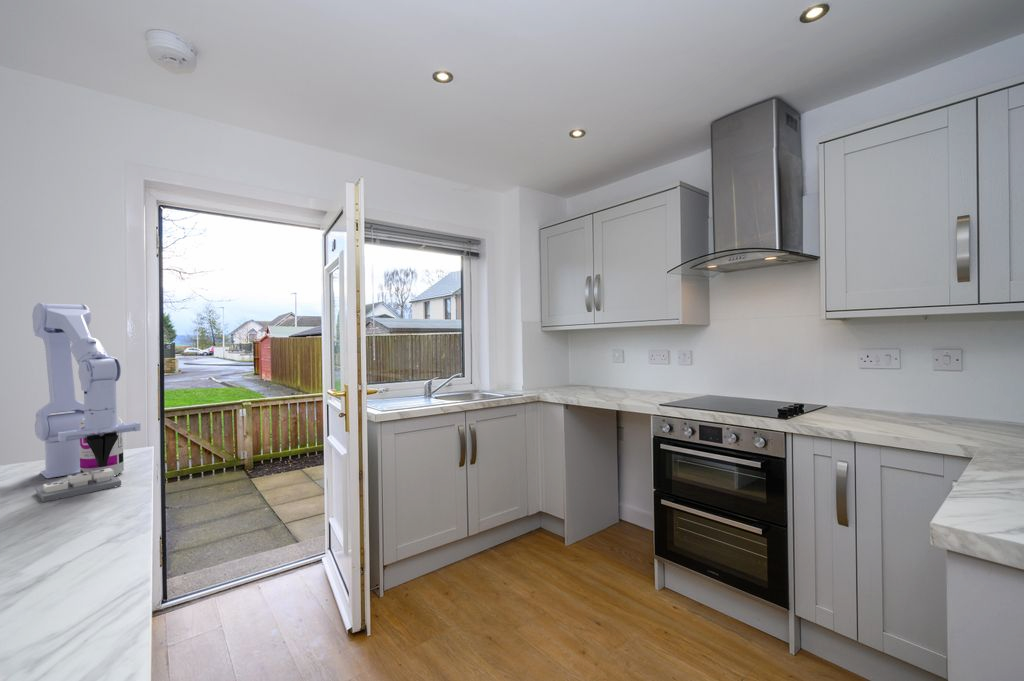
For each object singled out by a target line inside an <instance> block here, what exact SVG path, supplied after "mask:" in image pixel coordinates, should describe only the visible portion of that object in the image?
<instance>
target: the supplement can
mask: <svg viewBox="0 0 1024 681" xmlns="http://www.w3.org/2000/svg"><path fill="white" fill-rule="evenodd" d="M117 424H124V422H123V420H122V419H121V417H120V415H119V414H117ZM83 428H85V418H83V419H82V422H81V423H80V425H79V429H83ZM110 432H113V431H110ZM103 433H106V432H103ZM92 434H99V433H92ZM117 435H118V439H117V441H116V442H115V444H114V446H113V448H112V450H111V452H110V455H109V458H108V462H107V466H104V467H98V466H97V462H96V458H95V456H94V454H93V452H92V450H91V448H90V446H89V445H88V443H87V442H86V441H85V438H80V439H79V445H80V473H84V472H89V473H90V474H91V471H95V470H101V469H106V468H111V469H112V470H114V475H117V474H119V473H122V472H123V471H124V470H125V469H124V466H125V463H124V433H117ZM114 475H113V476H114ZM119 475H120V474H119ZM117 476H118V475H117ZM91 478H92V477H91Z"/></svg>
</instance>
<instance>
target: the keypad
mask: <svg viewBox="0 0 1024 681" xmlns="http://www.w3.org/2000/svg"><path fill="white" fill-rule="evenodd" d="M66 482H67V483H68V489H63V490H58V491H53V492H48V493H46V492H45V491H44V490H43V486H42V487H37V488H36V489H35V492H36V493H35V494H36V496H37V497H39V499H40V498H41V499H40V500H41V501H42V503H46V502H45V501H47V502H51V501H54V499H56V500H60V499H59V498H61V499H64V498H65V497H66V498H70V497H74V496H75V497H76V496H78V495H85V494H88V493H94V492H98V490H99V491H102V489H104V490H106V489H107V488H108V489H111V488H110V487H113V488H116V487H115V486H118V487H121V486H122V480H120V478H118V477H117V476H110V480H107V481H102V482H97V483H96V482H95V481H94V478H91V480H88V484H87V485H82V486H77V487H72V486H71V483H70V482H68V481H66ZM120 485H121V486H120ZM69 496H70V497H69ZM50 500H51V501H50Z"/></svg>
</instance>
